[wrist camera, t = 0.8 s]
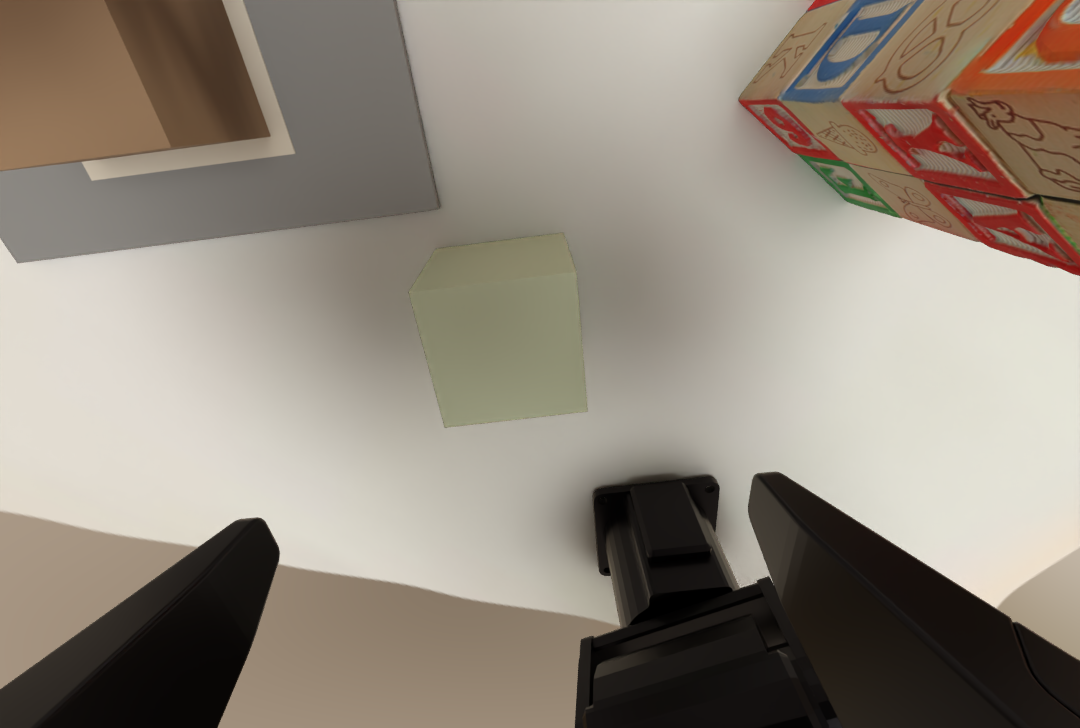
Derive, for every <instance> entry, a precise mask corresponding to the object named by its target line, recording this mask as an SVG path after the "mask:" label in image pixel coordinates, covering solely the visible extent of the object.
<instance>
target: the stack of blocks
mask: <svg viewBox="0 0 1080 728" xmlns="http://www.w3.org/2000/svg"><path fill="white" fill-rule="evenodd" d="M739 102H740V103H741V104H742V105H743V106H744V107H745V108H746V109H747V110H748V111H749V112H750V113H752V114H753V115H754V116H755V117H756V118H757V119H758V120H759V121H760V122H761V123H762V124H763V125H764V126H765V127H766V128H767V129H769V130H770V131H771V132H772V133H773V134H774V135H775V136H776V137H777V138H778V139H779V140H780V141H782V142H783V143H784V144H785V145H786V146H787V147H788V148H789V149H790V150H791V151H792V152H794V153H796V154H798V155H799V156H800V157H801V158H802V159H803V160H804V161H805V162H806V163H807V164H808V165H810V166H811V167H812V168H813V169H814V170H815V171H816V172H817V173H818V174H819V175H820V176H821V177H822V178H823V179H824V180H825V181H826V182H827V183H828V184H829V185H830V186H831V187H833V188H834V189H835V190H836V191H837V192H838V193H839V194H840V195H841V196H842V197H843V198H844V199H845V200H846V201H847V202H849V203H852V204H855V205H858V206H861V207H864V208H867V209H870V210H874V211H878V212H881V213H885V214H888V215H891V216H894V217H898V218H905V219H908V220H910V221H913V222H916V223H919V224H923V225H926V226H929V227H932V228H935V229H938V230H941V231H944V232H947V233H950V234H953V235H957V236H960V237H963V238H966V239H969V240H973V241H976V242H982V243H984V244H985V245H987V246H989V247H991V248H994V249H997V250H1000V251H1003V252H1005V253H1008V254H1011V255H1014V256H1018V257H1022V258H1027V259H1031V260H1033V261H1036V262H1038V263H1041V264H1044V265H1046V266H1050V267H1055V268H1061V269H1063V270H1065V271H1067V272H1070V273H1072V274H1075V275H1079V276H1080V0H815V1H814V3H813V4H812V5H811V7H810V8H809V9H808V10H807V12H806V13H805V14H804V15H803V16H802V17H801V19H800V20H799V21H798V22H797V23H796V25H795V26H794V27H793V28H792V30H791V31H790V32H789V33H788V35H787V36H786V37H785V39H784V40H783V41H782V42H781V44H780V45H779V46H778V47H777V49H776V50H775V51H774V53H773V54H772V55H771V56H770V58H769V59H768V60H767V62H766V63H765V64H764V65H763V67H762V68H761V69H760V71H759V72H758V73H757V74H756V76H755V77H754V78H753V80H752V81H751V82H750V83H749V85H748V86H747V87H746V89H745V90H744V91H743V93H742V94H741V96H740V97H739Z"/></svg>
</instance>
